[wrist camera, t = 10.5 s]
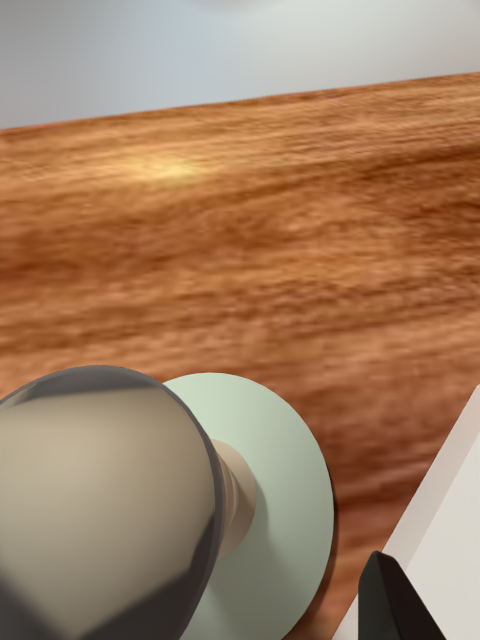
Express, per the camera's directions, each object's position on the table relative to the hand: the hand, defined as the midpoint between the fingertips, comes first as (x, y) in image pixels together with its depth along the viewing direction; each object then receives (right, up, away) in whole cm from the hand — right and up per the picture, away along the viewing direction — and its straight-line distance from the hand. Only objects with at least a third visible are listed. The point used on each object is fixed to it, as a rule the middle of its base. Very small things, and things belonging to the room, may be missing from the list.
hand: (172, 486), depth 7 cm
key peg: (0, -4, +6) cm, 7 cm away
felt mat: (0, -4, +7) cm, 8 cm away
